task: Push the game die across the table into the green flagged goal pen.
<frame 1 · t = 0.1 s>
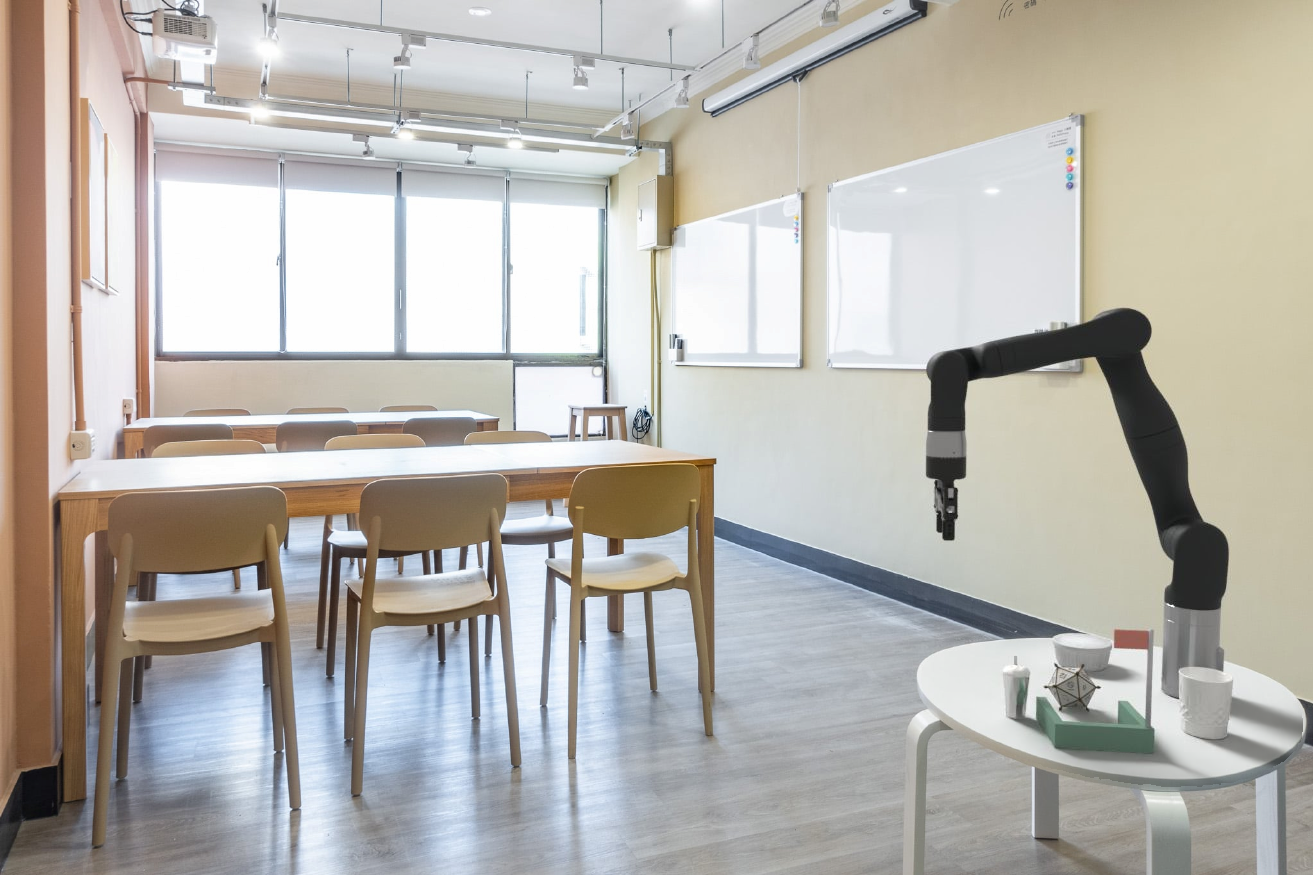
hand: (945, 536, 175), 29 cm above the table, tool pointing down, fingers open, 8 cm apart
white cup: (1203, 733, 152), on the table
milkshake: (1015, 716, 160), on the table
green flagged goal pen: (1091, 735, 151), on the table
game die: (1071, 709, 163), on the table
ramekin: (1081, 666, 187), on the table
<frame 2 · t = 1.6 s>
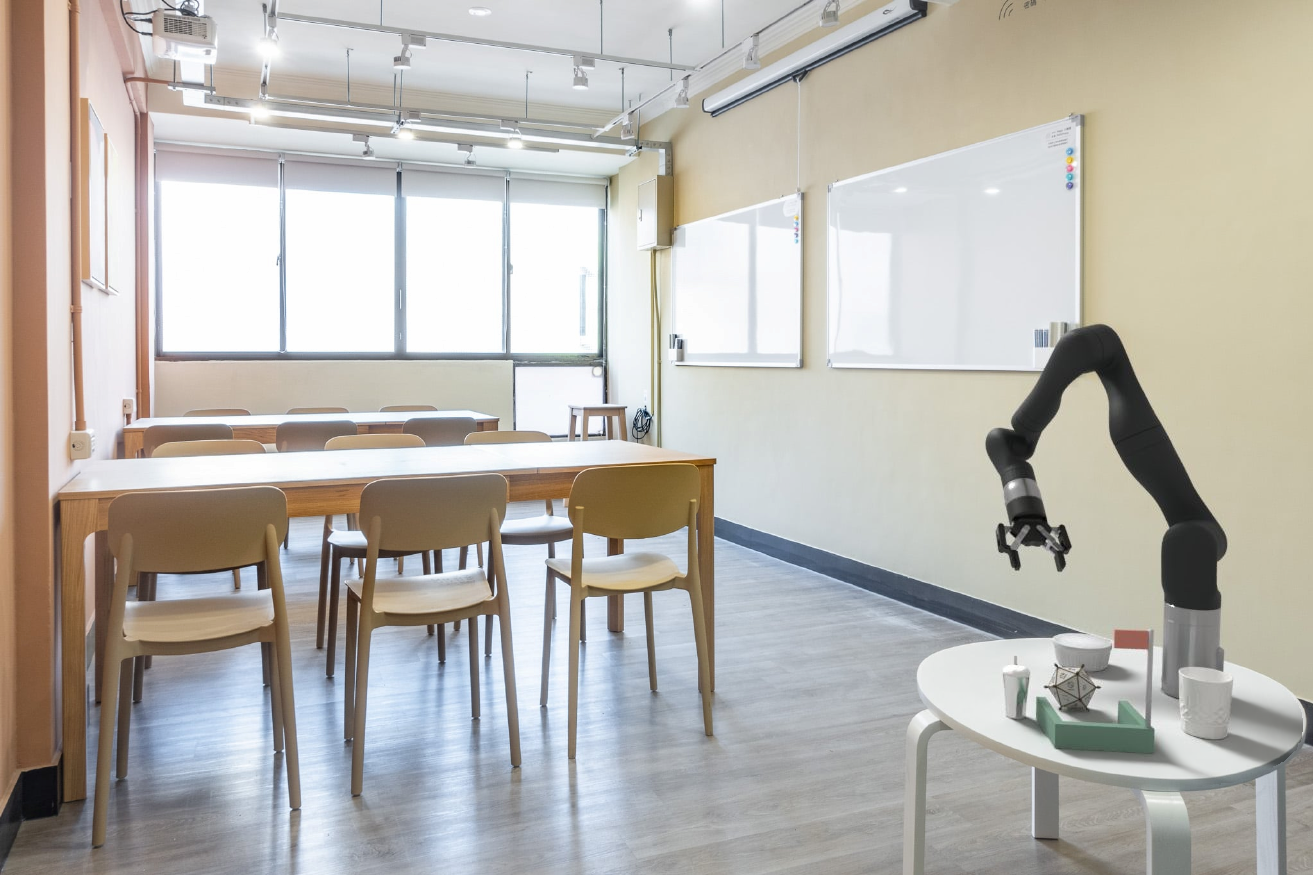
hand: (1039, 569, 184), 21 cm above the table, tool tilted 45°, fingers open, 8 cm apart
nothing on the table moved.
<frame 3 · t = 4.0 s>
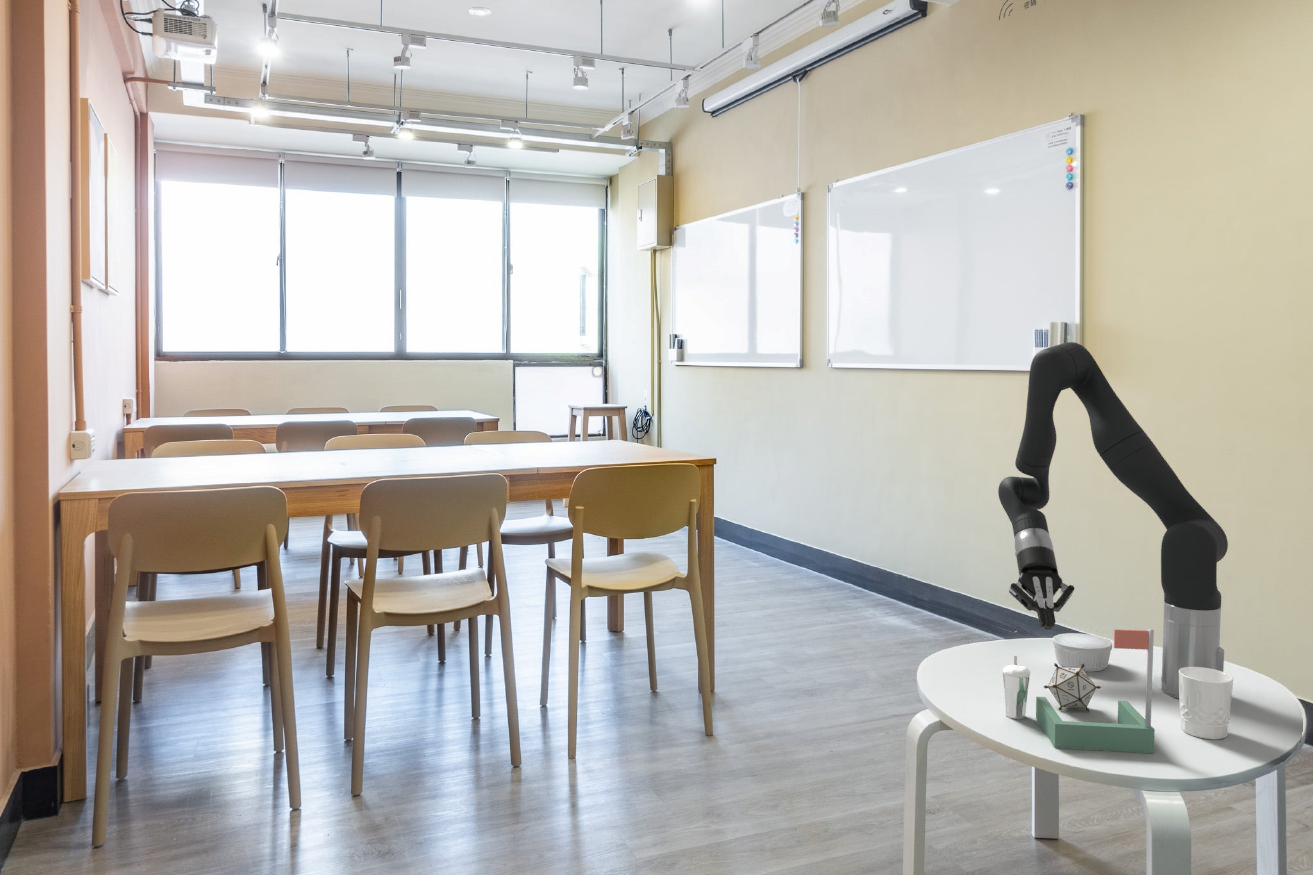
hand: (1048, 627, 179), 10 cm above the table, tool tilted 45°, fingers closed
nothing on the table moved.
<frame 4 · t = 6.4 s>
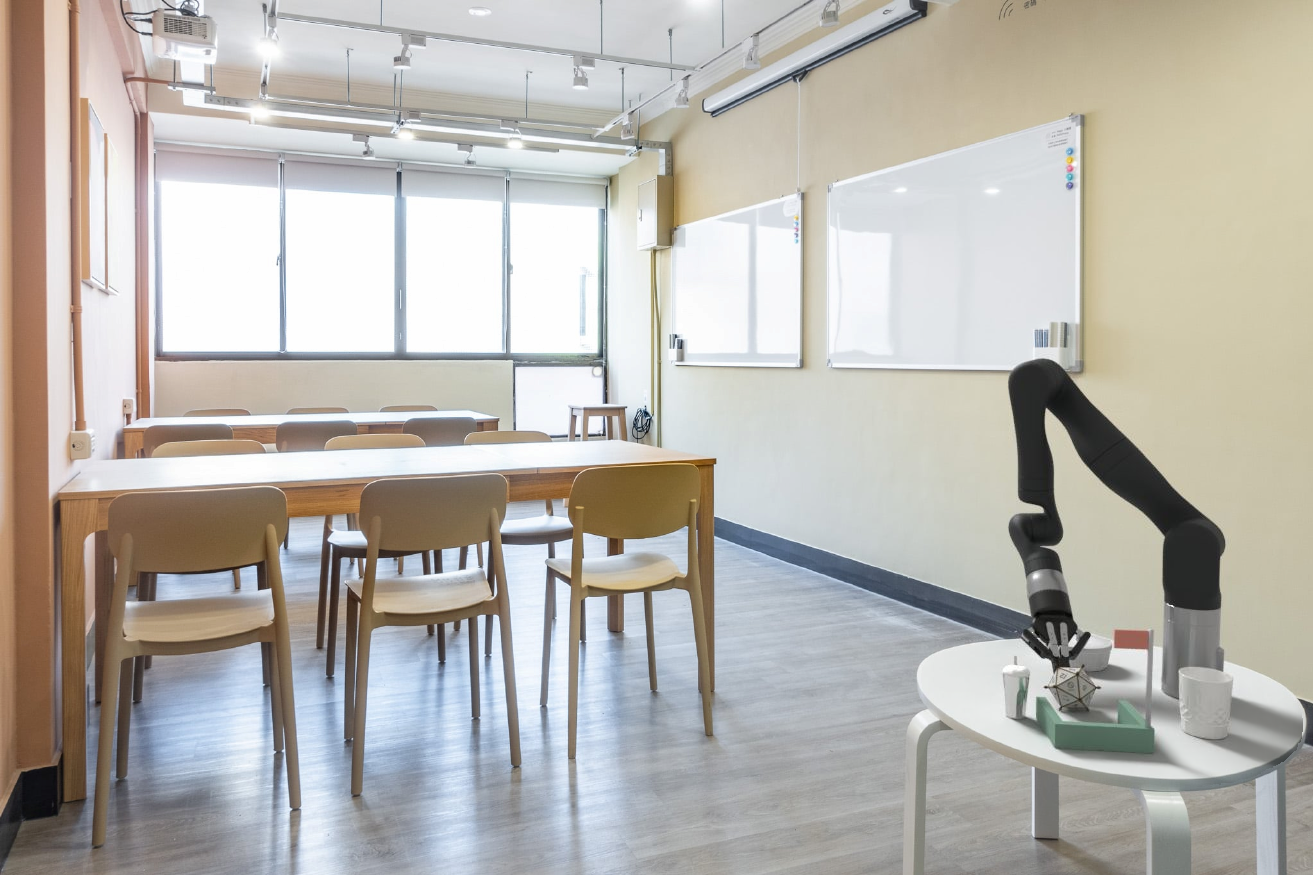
hand: (1063, 678, 168), 4 cm above the table, tool tilted 45°, fingers closed
game die: (1071, 709, 163), on the table, touching gripper
everything else where it was.
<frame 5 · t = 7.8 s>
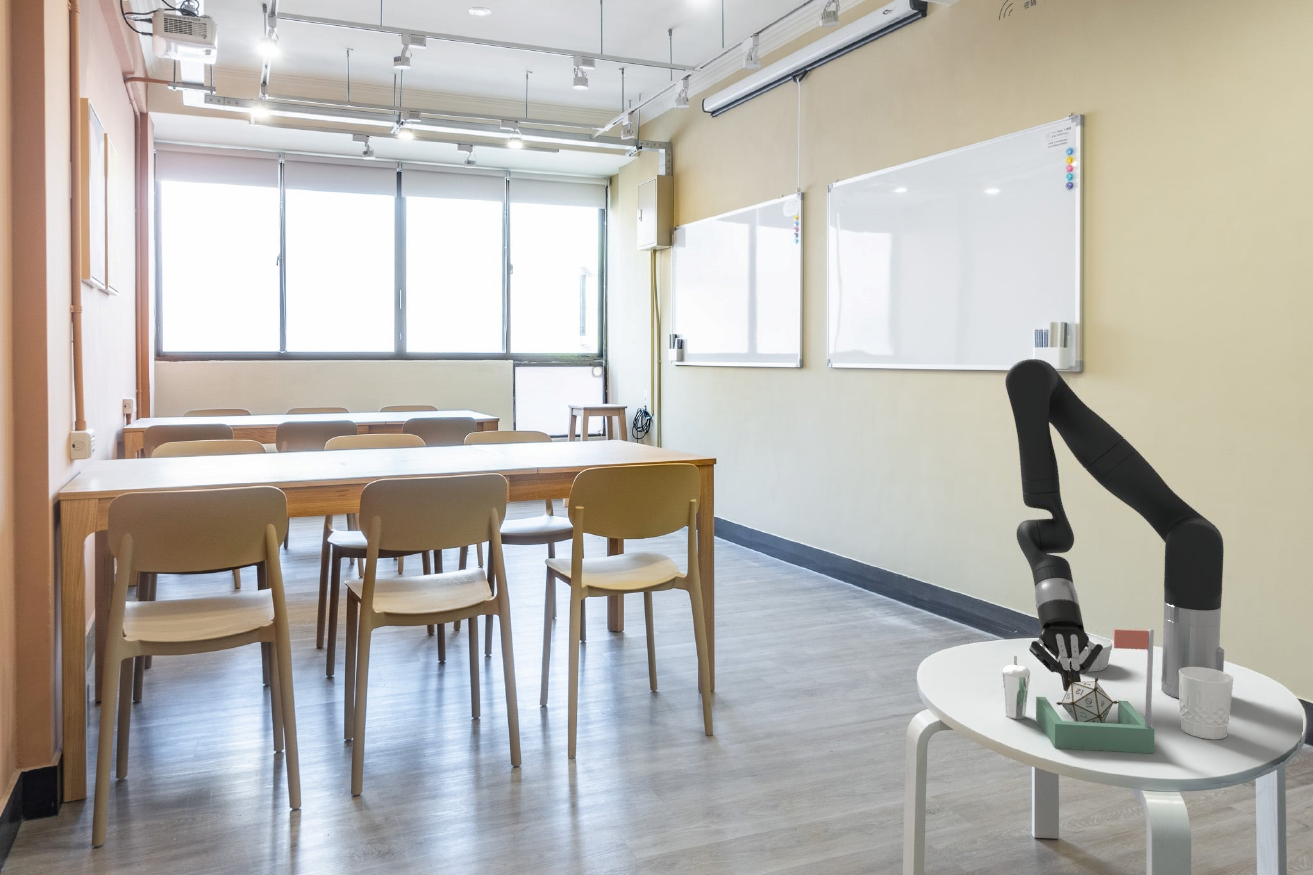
hand: (1073, 692, 160), 4 cm above the table, tool tilted 45°, fingers closed
game die: (1086, 726, 155), on the table, touching gripper
everything else where it was.
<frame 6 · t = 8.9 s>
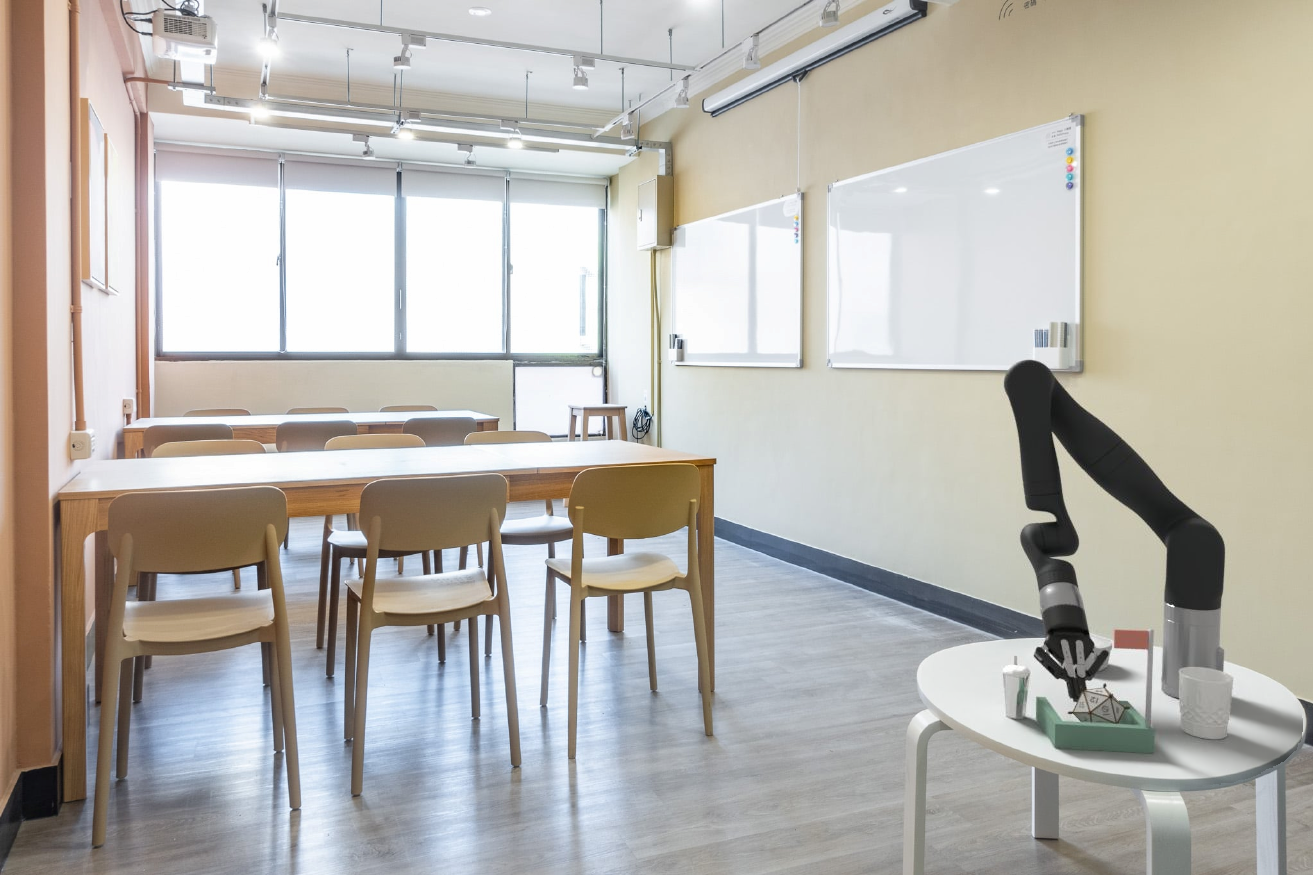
hand: (1079, 700, 157), 4 cm above the table, tool tilted 45°, fingers closed
game die: (1097, 734, 152), on the table, touching gripper
everything else where it was.
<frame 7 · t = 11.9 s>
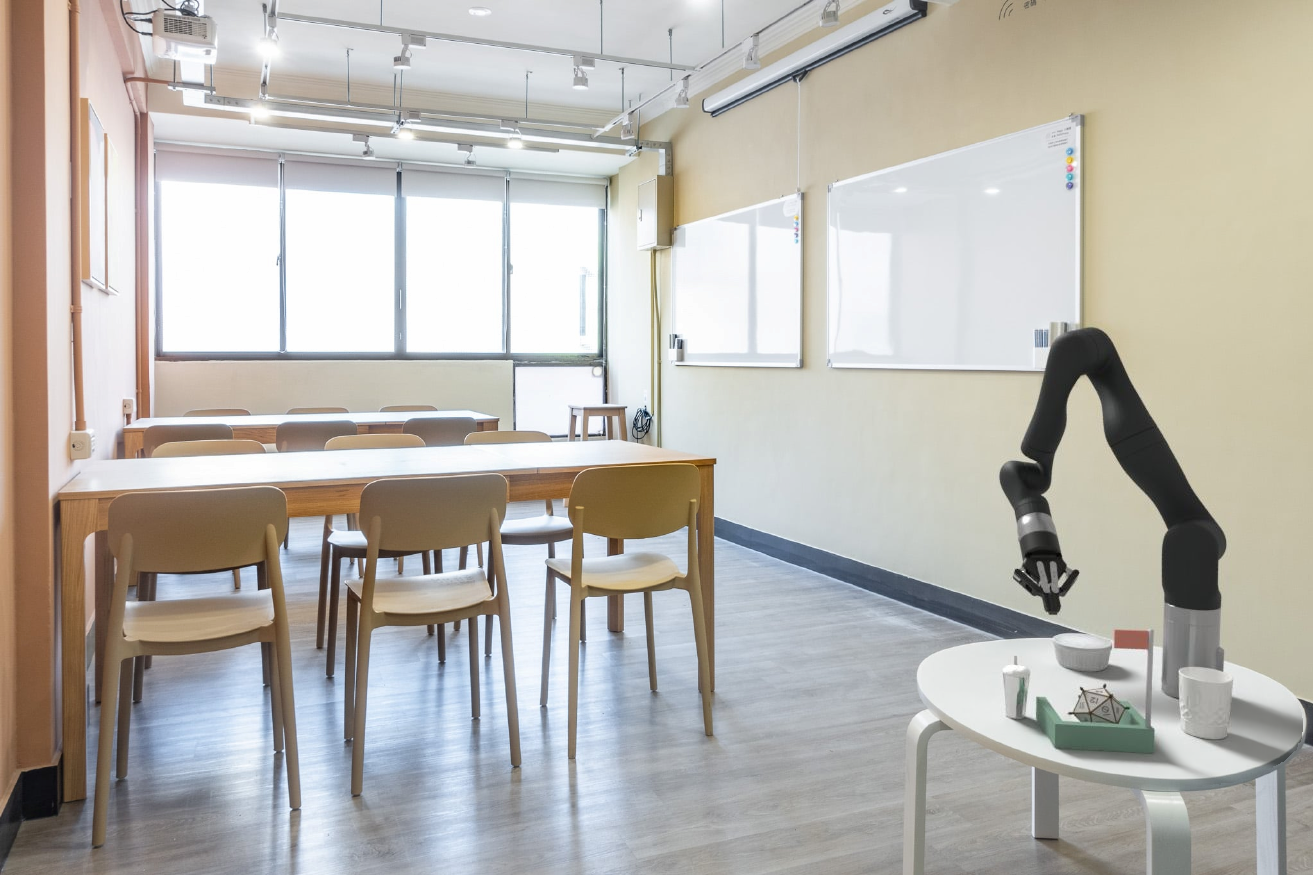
hand: (1053, 612, 175), 14 cm above the table, tool tilted 45°, fingers closed
game die: (1098, 734, 152), on the table
everything else where it was.
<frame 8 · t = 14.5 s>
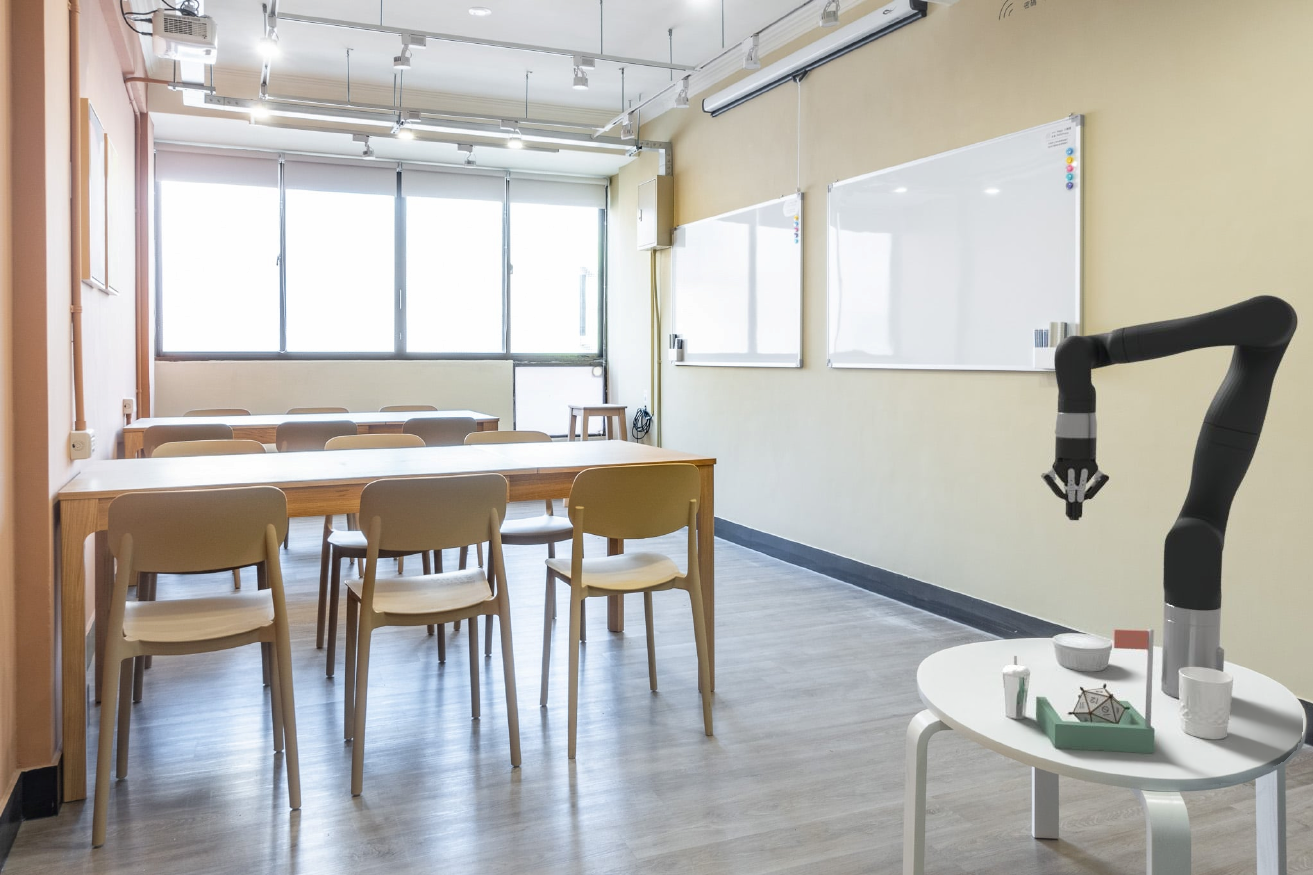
hand: (1073, 519, 183), 31 cm above the table, tool pointing down, fingers closed
nothing on the table moved.
at the end: game die inside the target area (1.3 cm from its centre), on the table; game die tilted 0° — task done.
